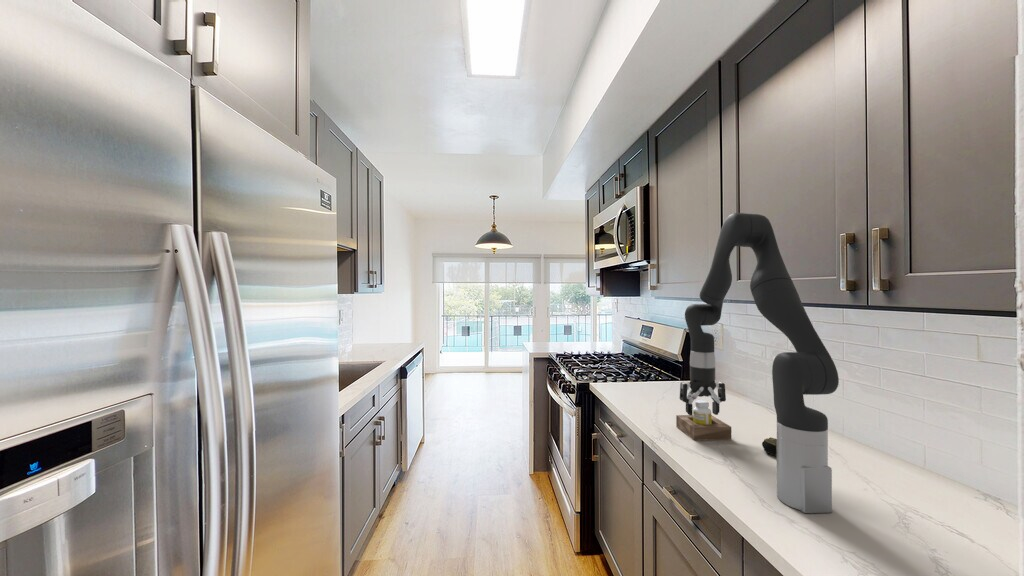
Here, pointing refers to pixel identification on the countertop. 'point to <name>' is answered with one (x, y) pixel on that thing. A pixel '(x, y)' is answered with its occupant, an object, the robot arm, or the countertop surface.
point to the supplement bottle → (702, 413)
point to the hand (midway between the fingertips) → (702, 414)
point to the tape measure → (770, 446)
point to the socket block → (703, 428)
